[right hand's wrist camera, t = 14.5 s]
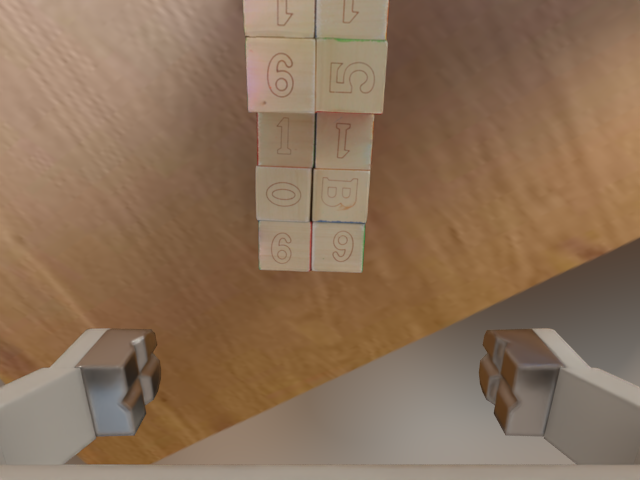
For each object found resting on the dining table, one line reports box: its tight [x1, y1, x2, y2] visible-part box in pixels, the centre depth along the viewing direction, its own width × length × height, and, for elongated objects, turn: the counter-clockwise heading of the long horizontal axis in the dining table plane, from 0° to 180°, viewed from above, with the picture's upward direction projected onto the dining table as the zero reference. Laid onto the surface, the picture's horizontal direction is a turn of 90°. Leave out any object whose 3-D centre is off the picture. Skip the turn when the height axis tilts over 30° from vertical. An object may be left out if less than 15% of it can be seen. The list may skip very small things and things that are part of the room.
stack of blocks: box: [243, 0, 389, 273], centre depth 24 cm, size 21×6×12 cm, turn 178°
